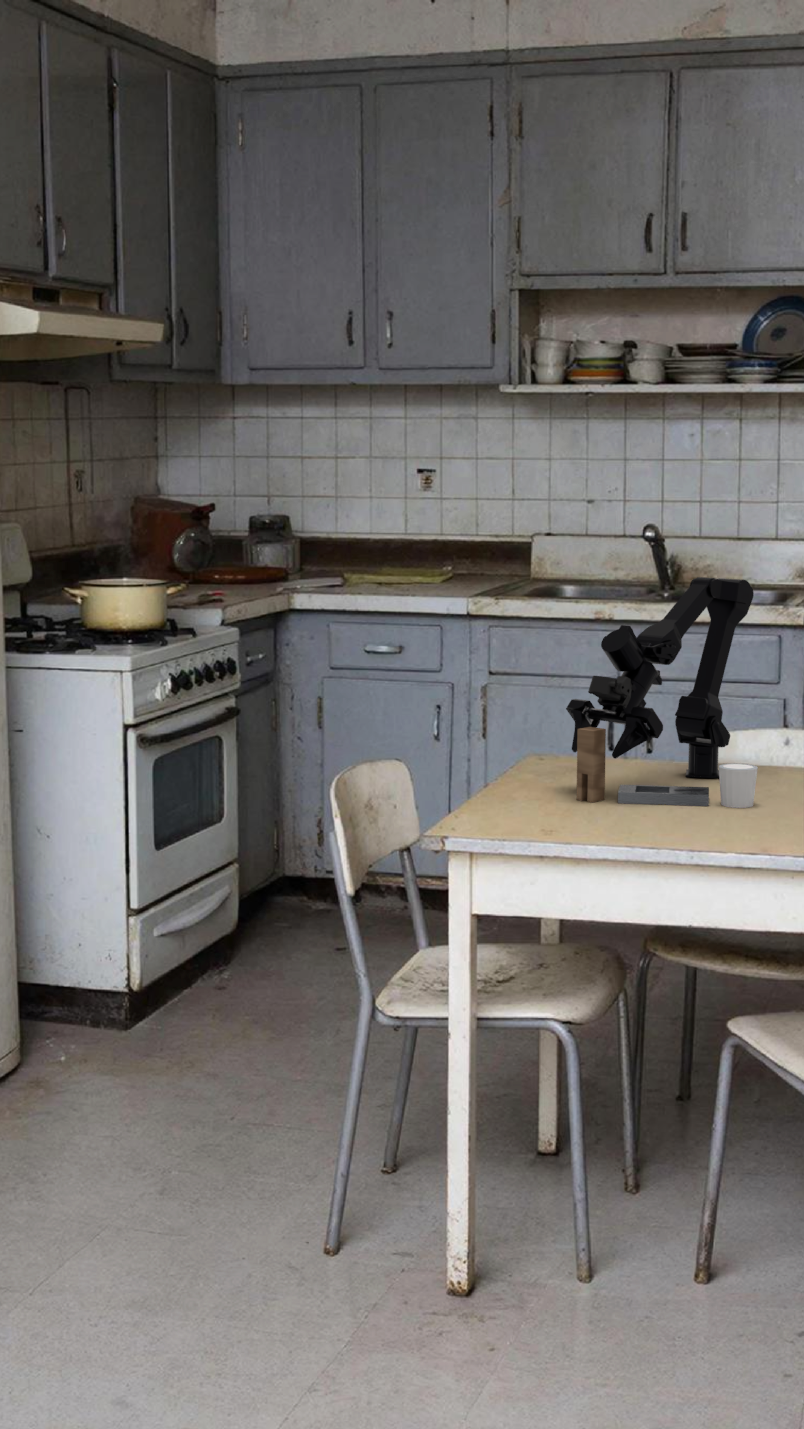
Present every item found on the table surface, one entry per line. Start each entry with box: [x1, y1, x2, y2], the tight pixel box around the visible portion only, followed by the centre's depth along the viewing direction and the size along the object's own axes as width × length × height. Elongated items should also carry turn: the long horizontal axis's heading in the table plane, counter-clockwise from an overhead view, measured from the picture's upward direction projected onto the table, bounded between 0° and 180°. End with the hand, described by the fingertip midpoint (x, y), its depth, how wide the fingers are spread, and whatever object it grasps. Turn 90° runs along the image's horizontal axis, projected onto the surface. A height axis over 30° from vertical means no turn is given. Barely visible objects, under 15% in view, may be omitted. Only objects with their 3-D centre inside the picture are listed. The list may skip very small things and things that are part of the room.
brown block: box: [576, 727, 607, 804], centre depth 303 cm, size 4×4×13 cm
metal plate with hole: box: [617, 784, 710, 807], centre depth 303 cm, size 8×16×2 cm, turn 80°
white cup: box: [718, 762, 758, 809], centre depth 299 cm, size 7×7×7 cm
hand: (593, 753), depth 303 cm, fingers open, 9 cm apart
